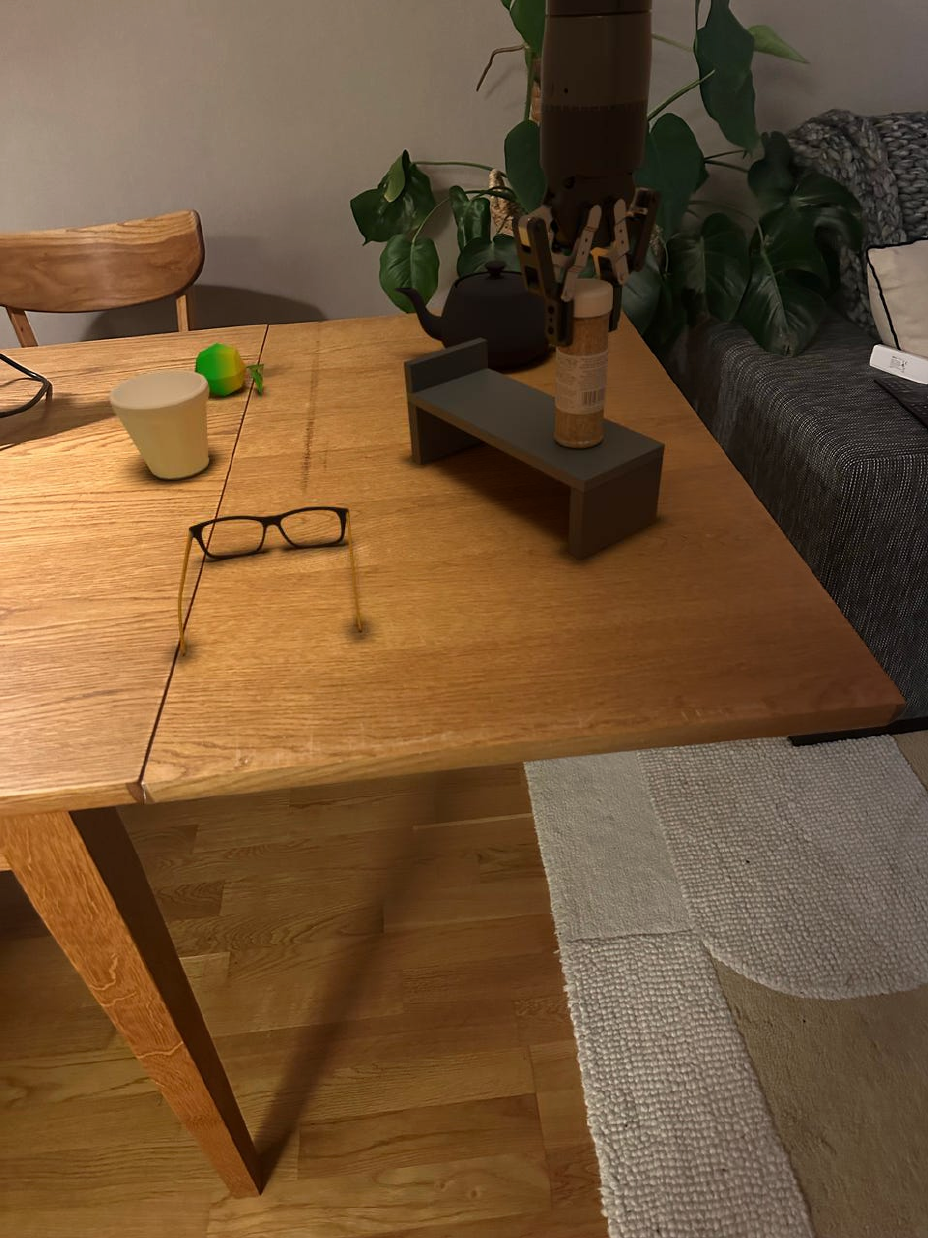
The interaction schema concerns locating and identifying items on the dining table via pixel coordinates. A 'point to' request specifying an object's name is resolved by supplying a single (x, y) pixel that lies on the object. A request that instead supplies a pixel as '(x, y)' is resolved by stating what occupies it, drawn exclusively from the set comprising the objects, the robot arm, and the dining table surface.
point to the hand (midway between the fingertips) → (583, 335)
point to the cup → (166, 420)
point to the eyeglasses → (265, 521)
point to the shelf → (533, 442)
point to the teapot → (488, 315)
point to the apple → (225, 369)
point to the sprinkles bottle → (584, 368)
